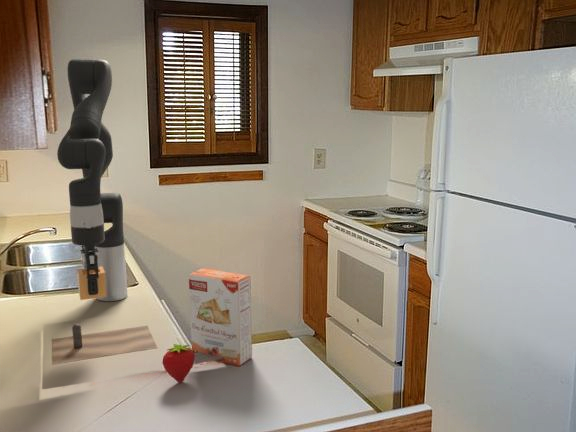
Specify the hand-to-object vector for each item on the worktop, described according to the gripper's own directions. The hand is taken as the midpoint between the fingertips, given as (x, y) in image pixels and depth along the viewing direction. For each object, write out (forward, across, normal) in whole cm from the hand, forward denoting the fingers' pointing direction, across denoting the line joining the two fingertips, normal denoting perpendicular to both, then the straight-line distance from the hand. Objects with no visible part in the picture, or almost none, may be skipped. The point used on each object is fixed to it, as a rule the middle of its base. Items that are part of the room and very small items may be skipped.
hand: (92, 290), depth 145 cm
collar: (+1, 0, 0) cm, 1 cm away
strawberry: (+16, +25, +15) cm, 33 cm away
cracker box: (+16, +16, +27) cm, 36 cm away
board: (+16, 0, +2) cm, 16 cm away
